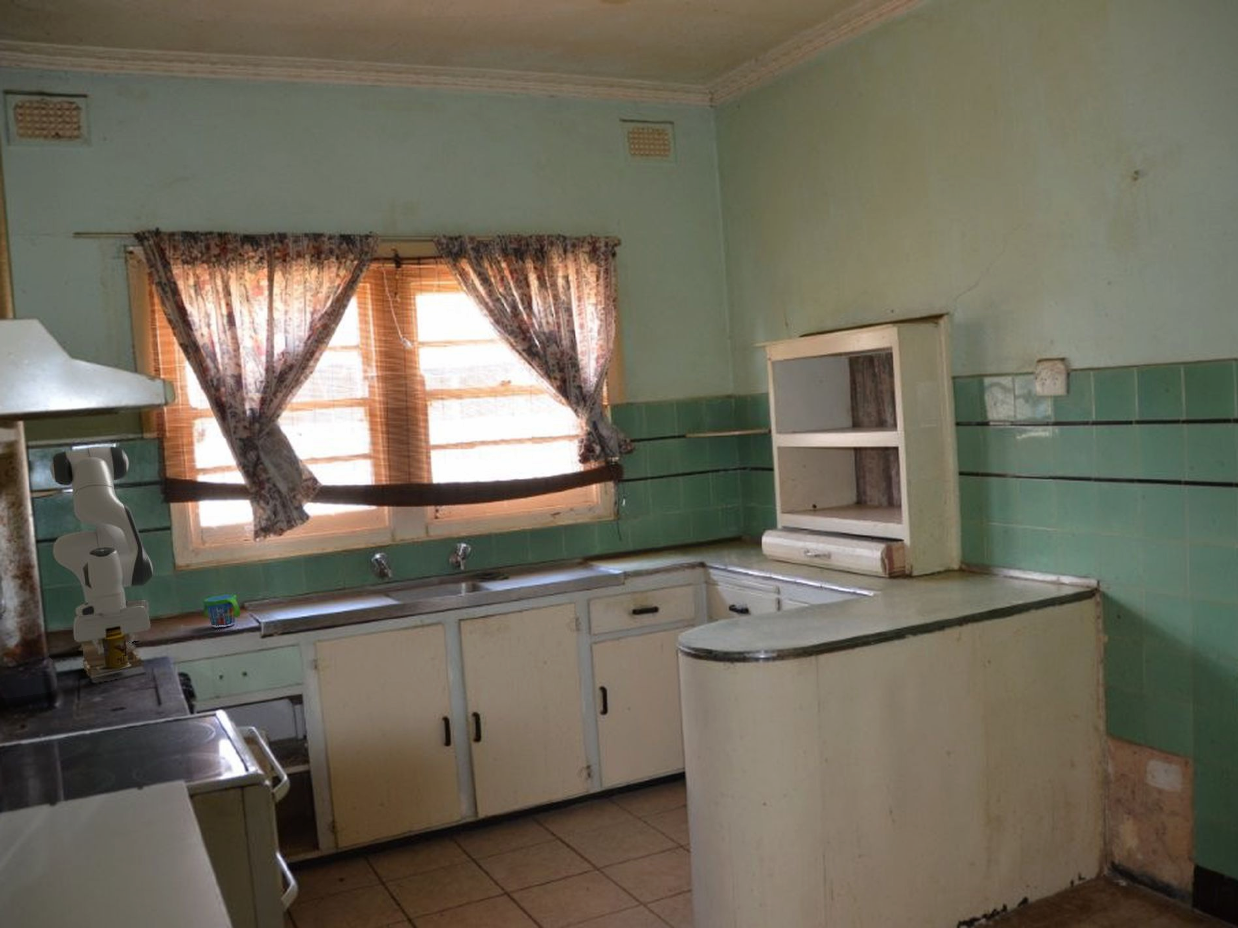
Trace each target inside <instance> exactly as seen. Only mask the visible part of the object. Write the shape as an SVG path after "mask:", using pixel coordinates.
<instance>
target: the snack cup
mask: <svg viewBox="0 0 1238 928" xmlns="http://www.w3.org/2000/svg"><path fill="white" fill-rule="evenodd" d="M203 604H204V606H203V615H204V617H205V618H207V617H209V621H210V624H211V626H212V625H216V626H217V625H218V626H219V625H228V624H231V623H234V622H235V623H236V618H239V617H240V616H241V610H240V609H241V608H240V606H239V604H238V602H237V595H236V594H223V595H216V596H212V597H209V598H208V597H207V598H206V599H204V600H203Z"/></svg>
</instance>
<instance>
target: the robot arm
mask: <svg viewBox="0 0 1238 928" xmlns="http://www.w3.org/2000/svg"><path fill="white" fill-rule="evenodd" d="M129 465H130V462H129V458H128V456H127V453H125V450H124V449H123V448H121V447H118V446H117V447H116V446H110V447H88V448H84V449H83V448H82V449H75V450H71V451H61V452H58V453H55V454H54V456H52V460H51V463H50V467H49V469H50V474H51V477H52V478H53V480H54V482H55V483H57V484H59V485H60V486H61V485H62V486H70V485H72V487H71V489H72V499H73V500H72V501H73V509H74V514H75V517H76V518H77V519H78V520H79V521H80V522H83V523H84V524H88V525H92V526H94V527H96V529H93V530H92V529H91V530H86V531H78V532H72V533H68V534H65V535H62V536H59V537H58V538H57V539H56V540H55V542H54V544H53V547H52V552H53V553H52V554H53V557H54V559H55V560H56V562H57V563H58V564H59V565H61V566H63V567H65V568H66V569H68V570H70V571H71V572H72V573H74V575H75V576H76V577H77V579H79V580H78V581H79V582H80V584H81V587H82V590H83V596H84V602H85V603H83V604H81V605H78V606H77V607H76V608H75V614H76V616H75V617H74V619H73V620H74V621H73V638H74V640H75V641H76V643H82V642H84V641H89V640H92V642H93V644H94V645H95V646H96V647H97V649H98V654H104V648H103V647H99V645H98V644H97V643H98V639H100V638H105V637H106V631H105V630H106V629H107V628H113V627H118V626H120V627H121V634H129V637H130V639H129V641H128V642H126V649H131V648H132V644H131V642H132V641H133V639H134V637H135V636H136V635H135V633H138V632H139V633H140V632H144V631H148V630H149V629H150V628H151V621H150V617H149V611H150V607H149V606H150V605H149V602H148V601H147V600H144V599H142V598H138V599H136V600H135V599H134V600H126V593H125V588H126V587H140V586H144V585H147V583H148V582H149V581H150V580H151V579H152V578H153V574H154V568H153V563H152V561H151V558H150V557H149V555H148V553H147V551H146V548H145V545H144V543H143V541H142V537H141V534H140V532H139V529H138V526H137V524H136V521H135V517H134V515H133V514H132V513H133V512H132V511H131V509H130V507H129V506H128V504H126V503H124V502H121V501H120V499H119V498H118V497H117V495H116V493H115V485H114V481H117V480H120V479H123V478H124V477H125V476H126V475H127V473H128V470H129V468H130V467H129Z"/></svg>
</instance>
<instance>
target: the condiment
mask: <svg viewBox="0 0 1238 928" xmlns="http://www.w3.org/2000/svg"><path fill="white" fill-rule="evenodd" d="M105 631H106V637H105V638H102V641H103V648H104V657H105V665H106V666H104V665H101V666H100V667H99V666H96V668H97V670H98V671H99V672H103V671H107V670H113V669H119V668H125V667H129V666H131V665H130V664H129V663H128V661H129V660H128V657H127V649H126V641H125V634H121V627H120V626H118V627H113V628H107V629H106V630H105Z"/></svg>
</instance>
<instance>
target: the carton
mask: <svg viewBox="0 0 1238 928" xmlns="http://www.w3.org/2000/svg"><path fill="white" fill-rule="evenodd" d="M129 639H130V637H129V634H125V641H126V642H128V641H129ZM81 644H82V647H83V652H82V653H83V660H82V664H83V665H82V666H83V669H84V671H85V670H86V671H87V673H86V675H87V674H88V675H87V677H88V676H94V675H98V674H105V673H110V672H115V671H120V670H126V669H131V668H136V667H141V666H142V667H143V661H142V658H141V656H140V655H139V654H138V653H137V652H136V650H134V643H132V642H131V644H132V648H131V649H127V657H128V663H129V664H130V665H131V666H129V667H125V668H119V669H113V670H107V671H103V672H99V671H98V670H97V668H96V667H100V666H106V665H105V657H104V654H98V649H97V647H96V646H95V645H94V644H93V642H92V640H89V641H84V642H81ZM97 644H98V645H99V647H103V641H102V638H100V639H98V643H97ZM86 671H85V672H86Z"/></svg>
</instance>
